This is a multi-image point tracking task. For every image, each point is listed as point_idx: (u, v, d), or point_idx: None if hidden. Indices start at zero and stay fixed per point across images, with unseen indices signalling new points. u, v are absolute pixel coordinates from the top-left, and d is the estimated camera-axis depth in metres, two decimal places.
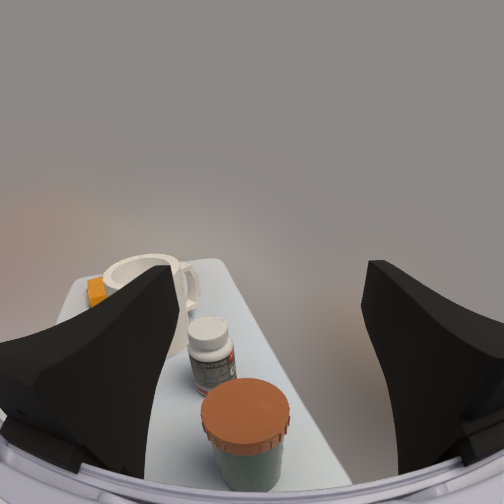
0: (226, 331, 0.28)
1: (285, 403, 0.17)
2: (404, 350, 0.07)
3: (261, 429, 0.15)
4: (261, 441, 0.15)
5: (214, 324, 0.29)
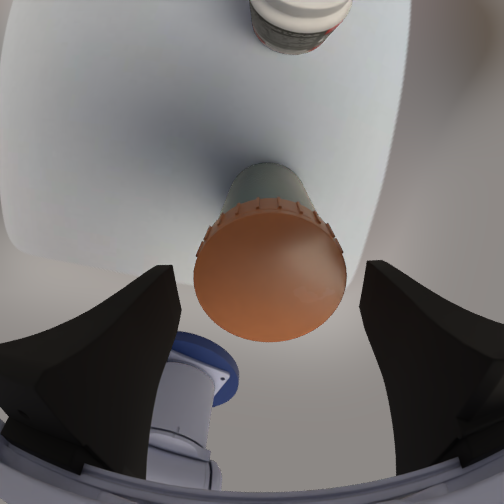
0: None
1: (334, 305, 0.11)
2: (402, 350, 0.07)
3: (273, 328, 0.12)
4: (263, 340, 0.12)
5: None
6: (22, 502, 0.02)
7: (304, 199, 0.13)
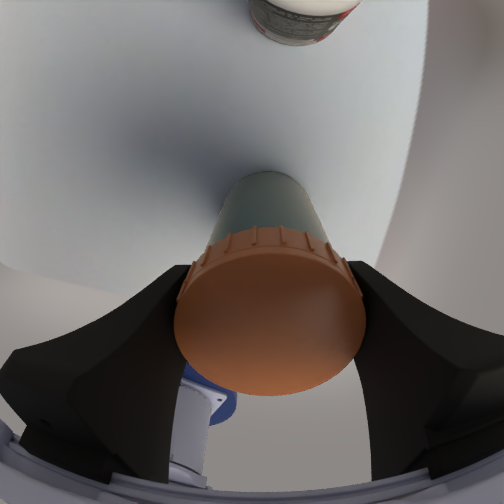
0: None
1: (348, 358, 0.09)
2: (376, 354, 0.07)
3: (273, 383, 0.09)
4: (261, 393, 0.10)
5: None
6: (22, 502, 0.02)
7: (313, 222, 0.11)
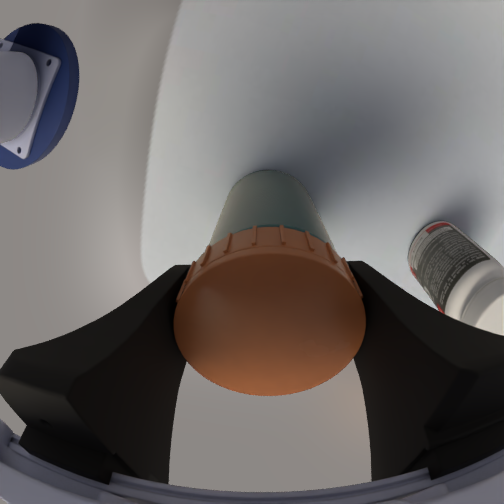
0: None
1: (348, 358, 0.09)
2: (376, 354, 0.07)
3: (273, 383, 0.09)
4: (261, 393, 0.10)
5: None
6: (22, 502, 0.02)
7: None
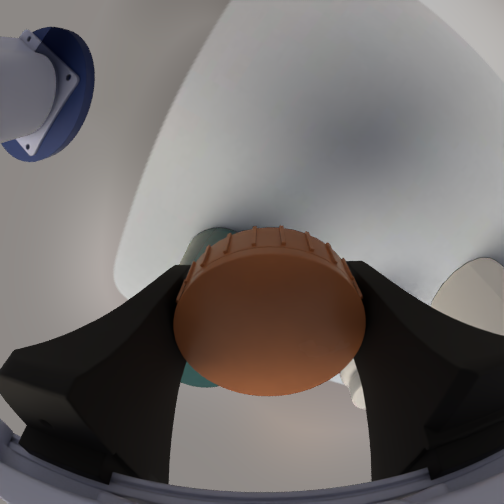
0: (353, 402, 0.17)
1: (348, 358, 0.09)
2: (376, 354, 0.07)
3: (273, 383, 0.09)
4: (261, 394, 0.10)
5: None
6: (22, 502, 0.02)
7: None
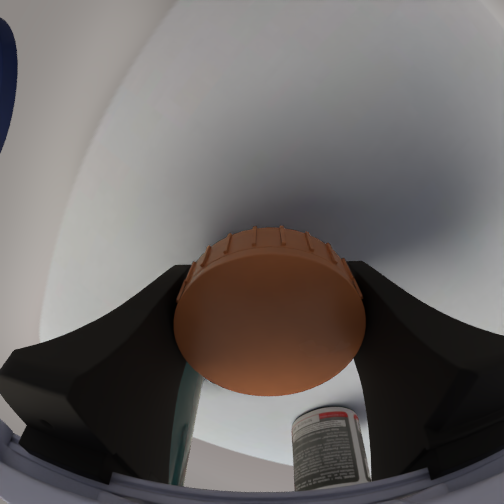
0: None
1: (348, 358, 0.09)
2: (376, 354, 0.07)
3: (273, 383, 0.09)
4: (261, 394, 0.10)
5: None
6: (22, 502, 0.02)
7: None
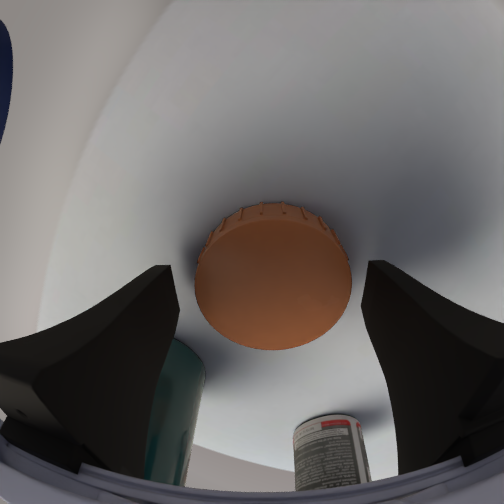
0: None
1: (338, 313, 0.11)
2: (404, 350, 0.07)
3: (276, 336, 0.11)
4: (265, 348, 0.12)
5: None
6: (22, 502, 0.02)
7: None
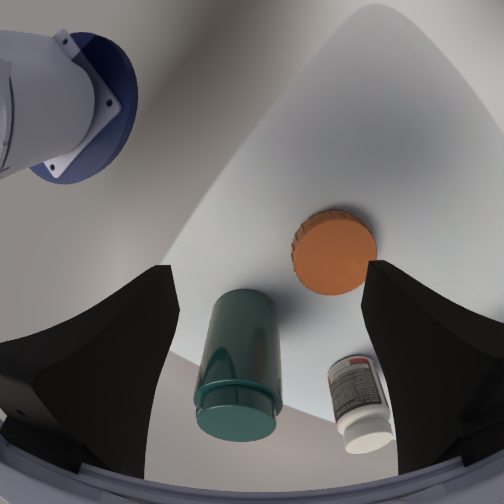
0: None
1: None
2: (404, 350, 0.07)
3: (334, 286, 0.20)
4: (327, 294, 0.20)
5: (363, 448, 0.19)
6: (22, 502, 0.02)
7: None
